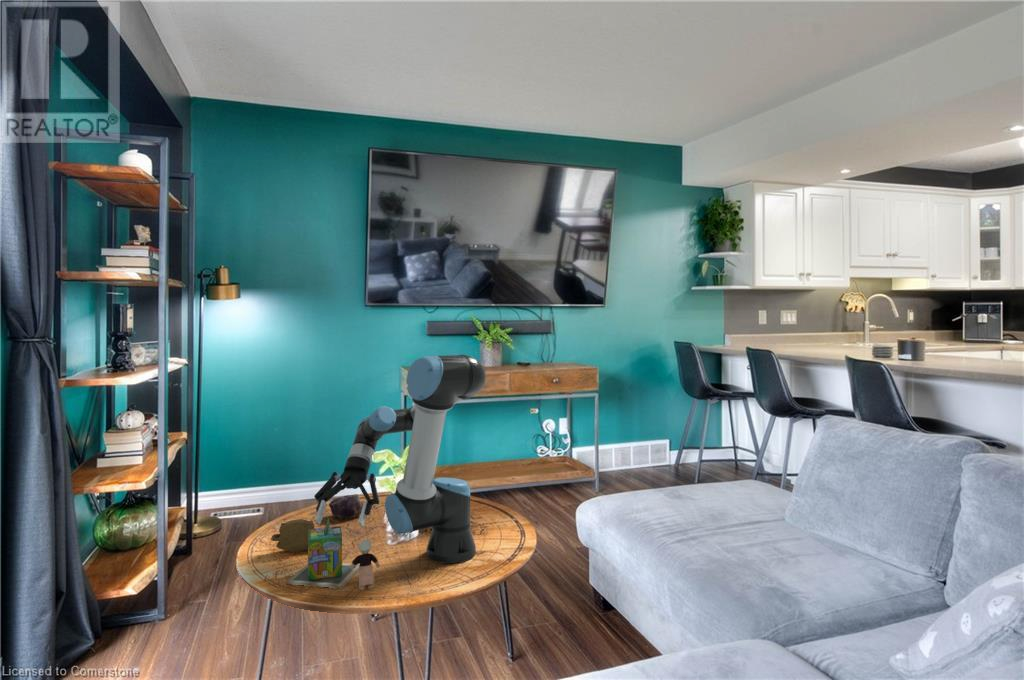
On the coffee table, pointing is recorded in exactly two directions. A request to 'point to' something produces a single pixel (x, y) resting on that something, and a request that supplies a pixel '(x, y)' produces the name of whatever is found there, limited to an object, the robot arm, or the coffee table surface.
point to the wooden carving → (293, 535)
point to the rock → (346, 507)
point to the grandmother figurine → (365, 565)
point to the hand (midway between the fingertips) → (338, 523)
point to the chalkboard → (333, 582)
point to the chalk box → (324, 552)
